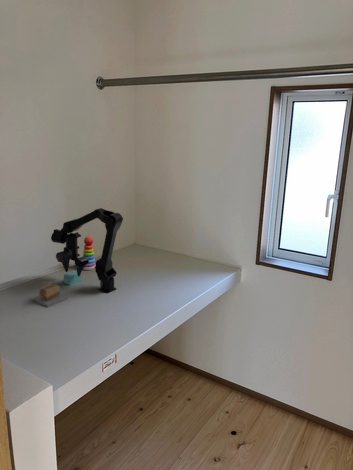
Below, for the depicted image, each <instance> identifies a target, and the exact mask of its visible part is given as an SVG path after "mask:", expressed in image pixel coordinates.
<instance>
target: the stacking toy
mask: <svg viewBox="0 0 353 470" xmlns="http://www.w3.org/2000/svg"><path fill="white" fill-rule="evenodd" d="M83 242H84V246H83V252H82V254H83V255H82V257H85V258H88V259H89V263H88V264H87V265H85V266H84V268H83V270H85V271H92V270H95V269H96V268H95V266H96V259H95V251H94V245H93V243H94V238H93V237H92V236H90V235H89V236H86V237H84V240H83Z"/></svg>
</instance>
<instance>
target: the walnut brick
mask: <svg viewBox="0 0 353 470" xmlns="http://www.w3.org/2000/svg"><path fill="white" fill-rule="evenodd" d="M60 291H61V290H60V286H59V285H57V284H55V283H50V284H47V285H44V286H41V287H40V288H39V295H40V298H41V299H43V300H45V301H49V300H52V299H54V298H57V297H59V296H60V294H61V292H60Z"/></svg>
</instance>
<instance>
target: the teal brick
mask: <svg viewBox="0 0 353 470" xmlns="http://www.w3.org/2000/svg"><path fill="white" fill-rule="evenodd" d="M63 282H64V284H65V285H68V286H73V285H76V284H78V283H82V273H81V274H80V276H78V275H77V270H73V271H68V272H65V273H64V274H63Z"/></svg>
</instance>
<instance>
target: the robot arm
mask: <svg viewBox="0 0 353 470" xmlns="http://www.w3.org/2000/svg"><path fill="white" fill-rule="evenodd" d="M97 219H98V220H100V222H102V223H103V224H104V227H105V230H106V234H105V238H104V243H103V247H102V253H101V257H100V258H98V259H97V260H95V269H94V272H95V273H96V275H97V278H98V281H100V283H99V284H100V286H99V287H98V291H101V292H104V293H105V294H106V293H107V294H108V293H111V292H114V291H115V290H117V288H116V287H115V277H116V275H117V273H118V272H117V271H116V269H115V268H114V267H113V261H112V256H113V252H114V251H113V250H114V245H115V242H116V237H117V234H118V233H117V232H118V231H119V230H120V228H121V226H122V223H123V220H124V217H123V216H122V215H121V213H118V212H114V211H112V210H107V209H105V208H102V207H100V208H96V209H94V210H93V211H91V212H89V213H86V214H85V215H83V216H81V217H78V218H74V219H71V220H68V221H65V222H64V223H63V224H62V228H61V229H58V228H57V229H56V228H55V229H53V233H52V234H51V236H50V240H51V242H52V243H56V244H57V243H58V244H63V245H64V244H65V246H64V247H63V251H59V252H57V253H55V259H56V260H57V262H58V263H60V264H62V266H63V269H64V271H65V273H69V267H70V260H71V261H73V262H74V267H76V271H77V275H78V276H80V274H81V275H82V271H83V270H84V269H83V268H84V266H85V265H87V264H88V263H89V259H88V258H85V257H83V256H81V257H80V255H81V254H79V251H78V250H79V249H80V246H78V239H79V238H81V237H82V235H81V234H80V233H79V232H78V230H80V229H81V228H82V227H83V226H84V225H86V224H88V223H90V222H92V221H95V220H97ZM76 231H77V232H76Z"/></svg>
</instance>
